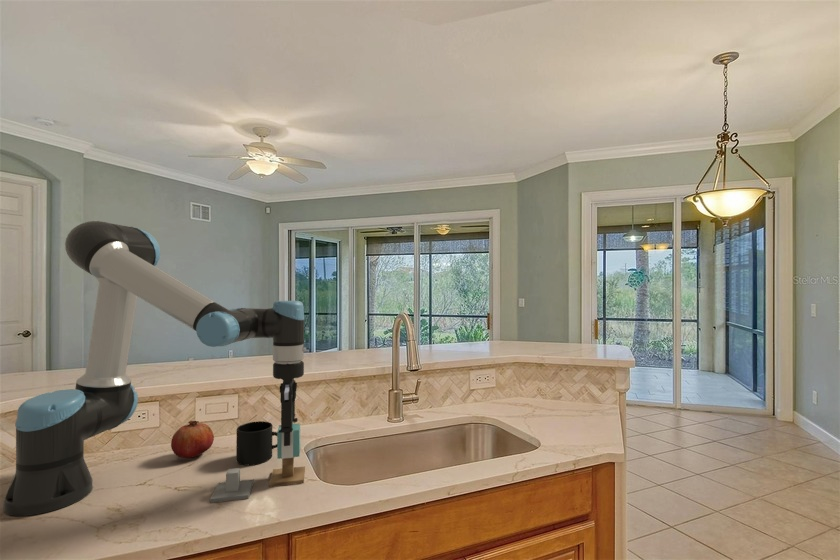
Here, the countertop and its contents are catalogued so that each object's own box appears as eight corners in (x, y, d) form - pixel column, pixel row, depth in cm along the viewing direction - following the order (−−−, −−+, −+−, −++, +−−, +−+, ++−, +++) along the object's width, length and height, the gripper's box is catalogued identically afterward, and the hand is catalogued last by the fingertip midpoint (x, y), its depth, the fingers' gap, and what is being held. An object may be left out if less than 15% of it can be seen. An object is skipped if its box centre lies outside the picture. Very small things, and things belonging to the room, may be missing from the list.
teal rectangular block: (277, 458, 104) (277, 431, 104) (279, 450, 109) (279, 425, 109) (299, 456, 105) (299, 430, 105) (300, 448, 110) (300, 423, 110)
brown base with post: (269, 486, 102) (269, 457, 102) (273, 472, 110) (273, 445, 110) (303, 483, 103) (303, 454, 104) (305, 469, 111) (305, 442, 111)
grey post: (210, 502, 94) (210, 480, 94) (218, 486, 102) (219, 465, 102) (248, 498, 96) (248, 476, 96) (253, 482, 104) (254, 462, 104)
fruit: (215, 447, 126) (216, 414, 126) (210, 460, 117) (211, 424, 117) (175, 452, 123) (175, 418, 123) (167, 466, 113) (167, 428, 114)
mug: (280, 462, 115) (280, 429, 116) (233, 467, 112) (233, 433, 113) (282, 449, 125) (283, 419, 125) (239, 453, 122) (239, 422, 122)
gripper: (302, 367, 99) (301, 466, 99) (305, 355, 117) (305, 439, 116) (268, 368, 97) (268, 469, 97) (277, 356, 115) (276, 441, 115)
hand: (288, 452), depth 107 cm, fingers closed on teal rectangular block, 5 cm apart
